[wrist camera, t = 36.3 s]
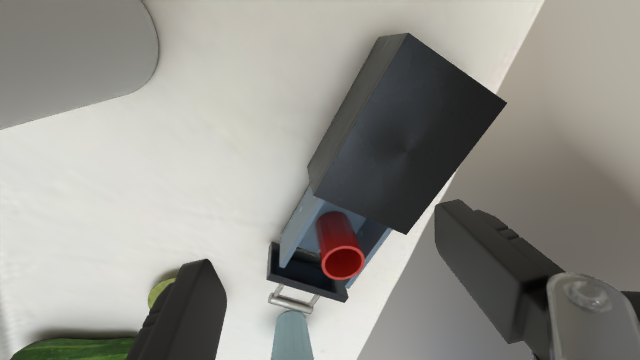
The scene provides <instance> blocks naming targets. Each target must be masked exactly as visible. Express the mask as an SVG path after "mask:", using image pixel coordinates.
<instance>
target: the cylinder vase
mask: <svg viewBox="0 0 640 360" xmlns="http://www.w3.org/2000/svg"><path fill="white" fill-rule="evenodd" d="M157 60H158V39H157V34H156V30H155V27H154V24H153V22H152V19H151V17H150V15H149V13H148V12H147V10H146V8H145V7H144V5H143V4H142V2H141V1H140V0H0V130H1V129H5V128H8V127H12V126H16V125H19V124H23V123H26V122H30V121H34V120H37V119H41V118H44V117H48V116H51V115H55V114H59V113H62V112H66V111H69V110H73V109H77V108H80V107H84V106H87V105H91V104H95V103H98V102H102V101H105V100H109V99H113V98H116V97H120V96H123V95H127V94H130V93H132V92H134V91H136V90H138V89H139V88H141V87H142V86H143V85H144V84H145V83H146V82H147V81H148V80H149V79H150V77H151V76H152V74H153V72H154V70H155V68H156V64H157Z"/></svg>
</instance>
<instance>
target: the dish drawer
mask: <svg viewBox="0 0 640 360" xmlns="http://www.w3.org/2000/svg"><path fill="white" fill-rule="evenodd" d="M331 211H338V212H342V213H344V214H345V215H347V216H348V218H349V219H350V221H351V224H352V226H353V229H354V232H355V234H356V237H357V239H358V242H359V244H360V247H361V249H362V252H363V255H364V258H365V262H364V267H363V268H362V269H361V271H360V272H359V273H358V274H357V275H355V276H354V277H352V278H348V279H345V280H335V279H332V278H329V277H328V276H327V275H326V274H325V273H324V272H323V269H322V267H321V261H320V258H318V257H315V256H312V255H310V254H307V253H304V252H301V251H298V250H296V248H297V247H299V248H302V249H305V250H308V251H310V252H313V253H316V254H319V250H318V244H317V238H316V233H315V225H316V222H317V220H318V219H319V218H320V217H321V216H322V215H323V214H325V213H327V212H331ZM392 230H393V229H391V228H389V227H386V226H384V225H381V224H379V223H377V222H374V221H372V220H370V219H367V218H365V217H363V216H360V215H358V214H355V213H353V212H351V211H348V210H346V209H344V208H341V207H339V206H336V205H334V204H332V203H329V202H327V201H325V200H322V199H320V198H317V197H315V196H313V192H312V188H311V184H310V186H309V187H308V189H307V191H306V193H305V194H304V196H303V198H302V200H301V201H300V203H299V205H298V207H297V208H296V210H295V212H294V214H293V215H292V217H291V219H290V221H289V222H288V224H287V226H286V228H285V229H284V231H283V233H282V235H281V236H280V244H278V243H275V242H271V244H270V246H269V252H268V266H267V280H269V281H273V282H276V283H280V284H279V285H278V287H277V288H276V290H275V292H274V293H271V294H270V296H269V299H268V303H271V304H274V305H278V306H282V307H285V308H289V309H293V310H296V311H300V312H304V313H307V314H311V313H312V311H313V306H314V304H315V303H316V301H317V300H318V298H319V297H320V296H323V297H326V298H330V299H333V300H336V301H340V302H343V303H345V302H346V300H347V299H348V294H347V290H346V288H348V289H349V288H350V287H351V285H352V284H353V283H354V281H355V280H356V278H357V277H358V276H359V274H360V273H361V272H362V270H363V269H364V268H365V266H366V265H367V264H368V262H369V261H370V260H371V258H372V257H373V255H374V254H375V253H376V251H377V250H378V249H379V247H380V246H381V245H382V243H383V242H384V241H385V239H386V238H387V237H388V235H389V234H390V232H391V231H392ZM284 285H286V286H290V287H293V288H296V289H300V290H303V291H306V292H310V293H313V294H315V295H314V297H313V298H312V300H311V301H310V302H309V303H307V302H304V301H300V300H297V299H293V298H290V297H286V296H283V295H279V293H280V291H281V290H282V288H283V287H284Z"/></svg>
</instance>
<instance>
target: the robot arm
mask: <svg viewBox="0 0 640 360" xmlns="http://www.w3.org/2000/svg"><path fill="white" fill-rule="evenodd" d="M434 212H435V243H436V247H437V249H438V252H439V254H440V256H441V257H442V258H443V260H444V261H445V262H446V264H447V265H448V266H449V268H450V269H451V270H452V271H453V273H454V274H455V275H456V277H457V278H458V279H459V280H460V282H461V283H462V284H463V286H464V287H465V288H466V290H467V291H468V292H469V293H470V295H471V296H472V298H473V299H474V300H475V301H476V302H477V304H478V305H479V307H480V308H481V309H482V310H483V312H484V313H485V315H486V316H487V317H488V318H489V320H490V321H491V322H492V323H493V325H494V326H495V328H496V329H497V330H498V331H499V333H500V334H501V335H502V337H503V338H504V339H505V341H506V342H507V343H508V344H511V343H515V342H519V341H523V340H524V341H525V343H526V344H527V345H528V346H529V347H530V349H531V352H530V360H640V292H630V291H618V290H617V289H616V288H615V287H613V286H611V285H610V284H608V283H606V282H604V281H602V280H600V279H597V278H595V277H591V276H588V275H584V274H579V273H567V272H565V271H564V270H563V269H561V268H560V267H559V266H558V265H556V264H555V263H553V262H552V261H551V260H550V259H548V258H547V257H546V256H545V255H543V254H542V253H541V252H539V251H538V250H537V249H536V248H535V247H533V246H532V245H531V244H529V243H528V242H527V241H526V240H524V239H523V238H520V237H519V235H518V234H516V233H515V232H514V231H513V230H511V229H508V226H506V225H505V224H504V223H503V222H501V221H500V220H499V219H498V218H496V217H495V216H492V215H490V214H488V213H485V212H483V211H481V210H476V211H473V210H472V209H471V208H470V207H468V206H467V205H466V204H465V203H464V202H463V201H461V200H459V199H457V200H453V201H449V202H444V203H440V204H437V205H436V206H435V210H434ZM226 308H227V298H226V292H225V290H224V287H223V285H222V283H221V281H220V279H219V277H218V275H217V273H216V271H215V269H214V267H213V265H212V263H211V262H210V260H208V259H203V260H199V261H195V262H190V263H186V264H184V265H182V267H181V269H180V271H179V273H178V275H177V277H176V279H175V281H174V282H172V283H169V284H168V285H167V287H166V288H165V289H164V290H163V291H162V292H161V293H160V294H159V296H158V297H157V298H156V300H155V302H154V304H153V306H152V308H151V310H150V312H149V315H148V316H147V318H146V319H145V321H144V323H143V325H142V326H143V328H142V329H140V331H139V333H138V335H137V337H136V339H135V341H134V343H133V345H132V347H131V349H130V351H129V353H128V355H127V357H126V358H125V360H215V358H216V353H217V349H218V344H219V340H220V335H221V331H222V326H223V321H224V317H225V312H226Z"/></svg>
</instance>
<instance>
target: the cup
mask: <svg viewBox="0 0 640 360" xmlns="http://www.w3.org/2000/svg"><path fill="white" fill-rule="evenodd" d="M271 360H314V358H313V353H312V348H311V343H310V338H309V333H308V328H307V324H306V319H305V316H304V315H303V314H302V313H300V312H297V311H288V312H285V313H283V314H281V315H280V316H279V317H278V319H277V322H276V328H275V335H274V342H273V349H272V356H271Z"/></svg>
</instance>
